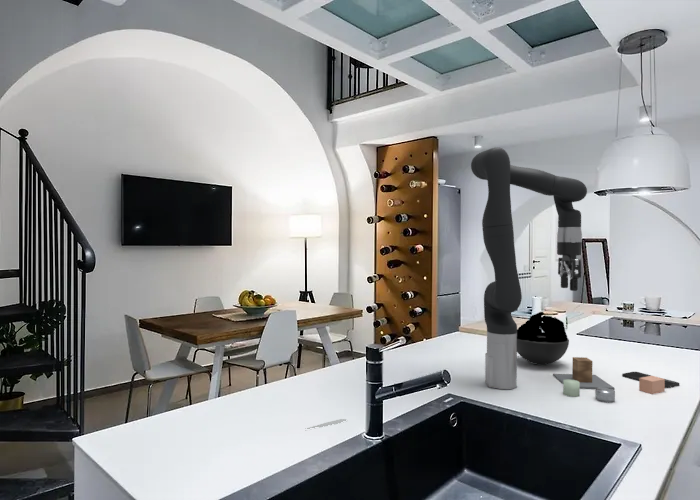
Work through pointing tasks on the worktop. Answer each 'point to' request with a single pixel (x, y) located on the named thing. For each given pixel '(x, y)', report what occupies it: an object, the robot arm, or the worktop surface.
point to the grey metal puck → (605, 395)
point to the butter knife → (329, 423)
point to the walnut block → (582, 369)
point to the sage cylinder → (571, 388)
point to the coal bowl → (542, 339)
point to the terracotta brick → (652, 384)
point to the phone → (639, 375)
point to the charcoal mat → (595, 383)
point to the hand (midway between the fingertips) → (568, 289)
